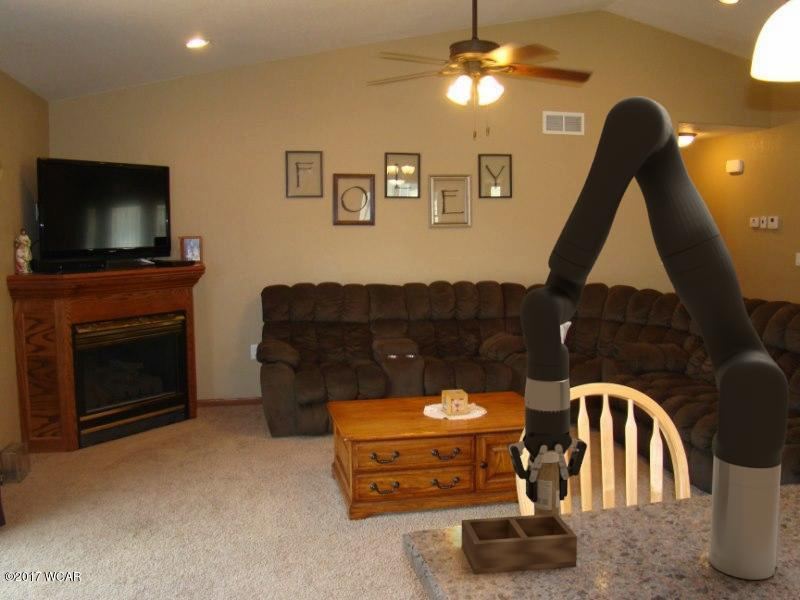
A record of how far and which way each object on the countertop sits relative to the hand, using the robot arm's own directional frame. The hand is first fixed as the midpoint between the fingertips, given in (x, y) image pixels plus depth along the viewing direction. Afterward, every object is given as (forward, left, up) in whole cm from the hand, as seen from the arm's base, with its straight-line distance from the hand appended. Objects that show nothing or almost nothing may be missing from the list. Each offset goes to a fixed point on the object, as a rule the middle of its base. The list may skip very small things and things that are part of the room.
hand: (546, 499), depth 122 cm
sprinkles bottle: (0, 0, -4) cm, 4 cm away
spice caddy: (+11, +6, -5) cm, 13 cm away
